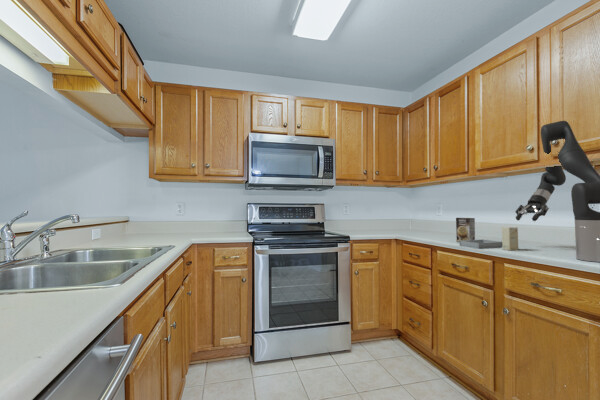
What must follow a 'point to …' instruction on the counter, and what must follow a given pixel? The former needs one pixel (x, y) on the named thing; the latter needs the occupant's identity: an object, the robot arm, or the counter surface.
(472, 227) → the coffee box
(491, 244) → the tray
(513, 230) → the skincare box
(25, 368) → the counter surface
